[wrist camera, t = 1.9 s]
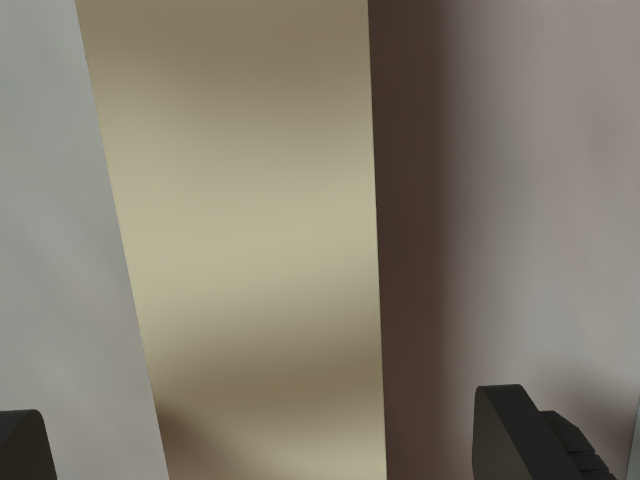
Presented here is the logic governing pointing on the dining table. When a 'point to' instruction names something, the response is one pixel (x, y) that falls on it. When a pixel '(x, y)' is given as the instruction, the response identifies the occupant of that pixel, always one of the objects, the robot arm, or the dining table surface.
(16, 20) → the dining table surface
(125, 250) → the batten
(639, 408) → the fulcrum
